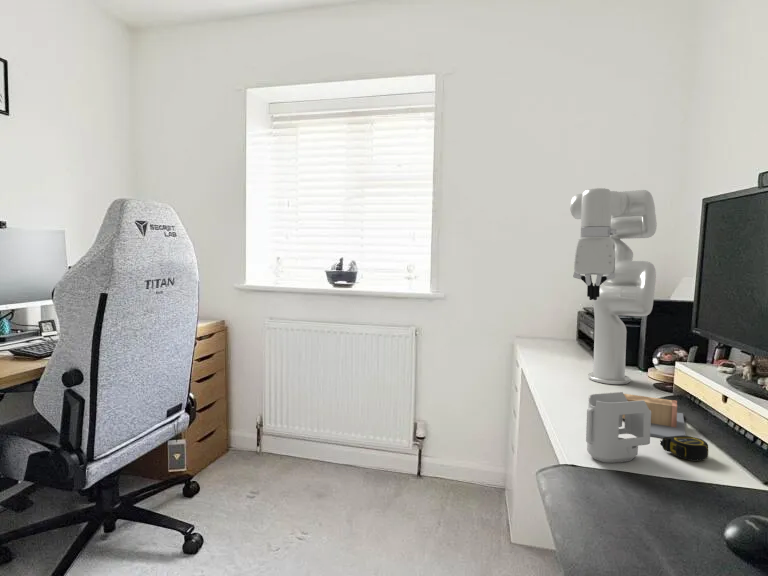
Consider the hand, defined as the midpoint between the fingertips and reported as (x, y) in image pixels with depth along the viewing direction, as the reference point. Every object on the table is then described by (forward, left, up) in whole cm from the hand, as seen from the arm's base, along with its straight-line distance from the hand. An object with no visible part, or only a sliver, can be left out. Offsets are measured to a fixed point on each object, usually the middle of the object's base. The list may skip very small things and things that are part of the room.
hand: (593, 299), depth 124 cm
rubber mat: (+10, +16, -29) cm, 35 cm away
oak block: (+10, +8, -26) cm, 29 cm away
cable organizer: (+36, +10, -29) cm, 47 cm away
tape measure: (+28, +21, -30) cm, 46 cm away
